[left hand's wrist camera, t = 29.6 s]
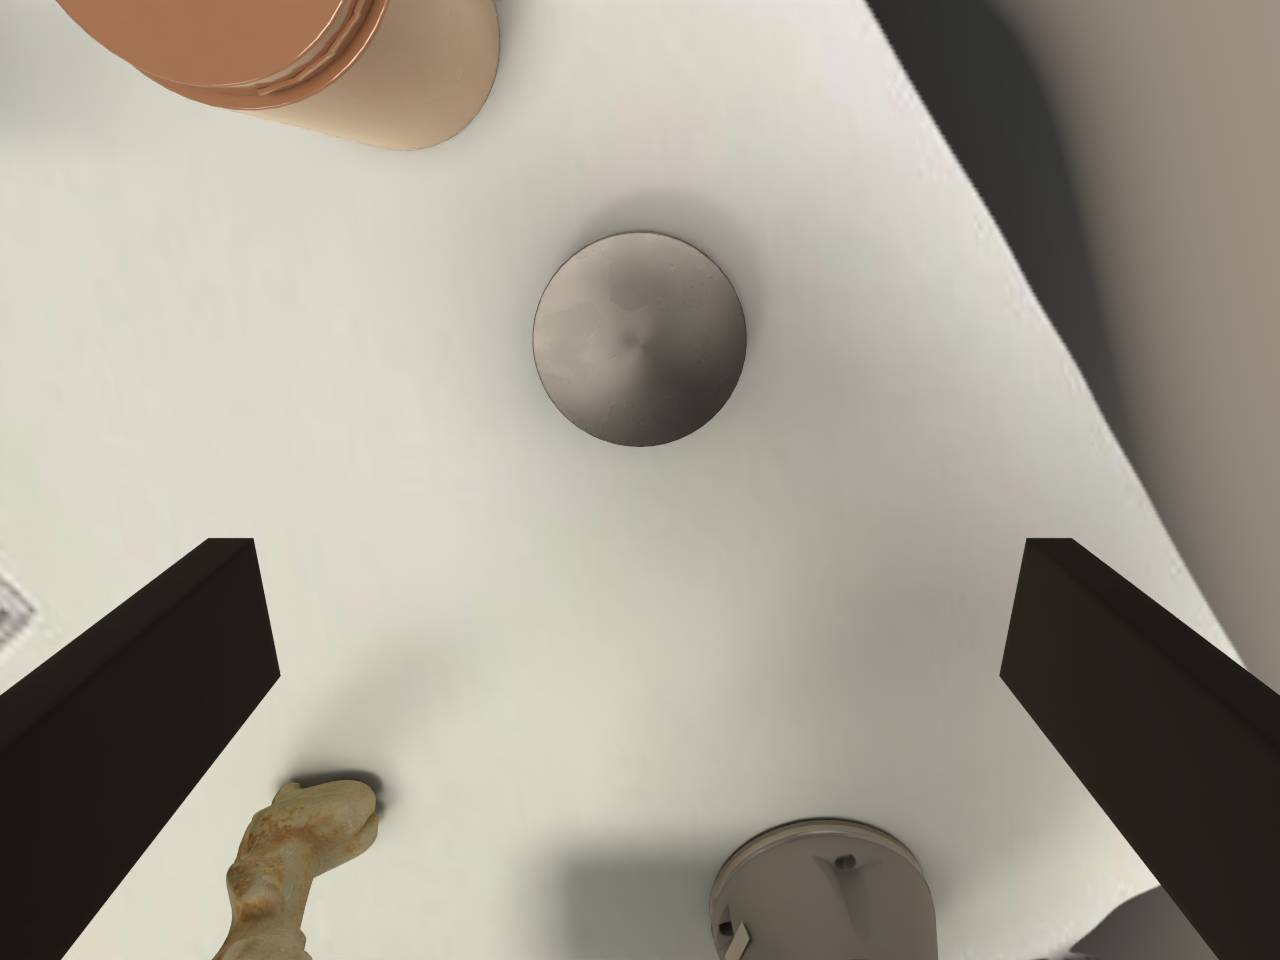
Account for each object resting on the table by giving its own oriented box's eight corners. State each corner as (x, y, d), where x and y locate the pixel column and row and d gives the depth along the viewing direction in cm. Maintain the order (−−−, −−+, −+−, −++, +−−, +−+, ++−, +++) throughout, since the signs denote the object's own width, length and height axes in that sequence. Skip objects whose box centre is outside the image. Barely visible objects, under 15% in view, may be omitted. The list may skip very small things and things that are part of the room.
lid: (518, 409, 40) (513, 418, 38) (562, 205, 36) (558, 205, 35) (708, 457, 41) (711, 468, 39) (768, 263, 37) (775, 266, 35)
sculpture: (388, 834, 50) (289, 1079, 36) (282, 832, 50) (140, 1077, 36) (380, 765, 48) (272, 996, 34) (269, 762, 48) (114, 993, 34)
